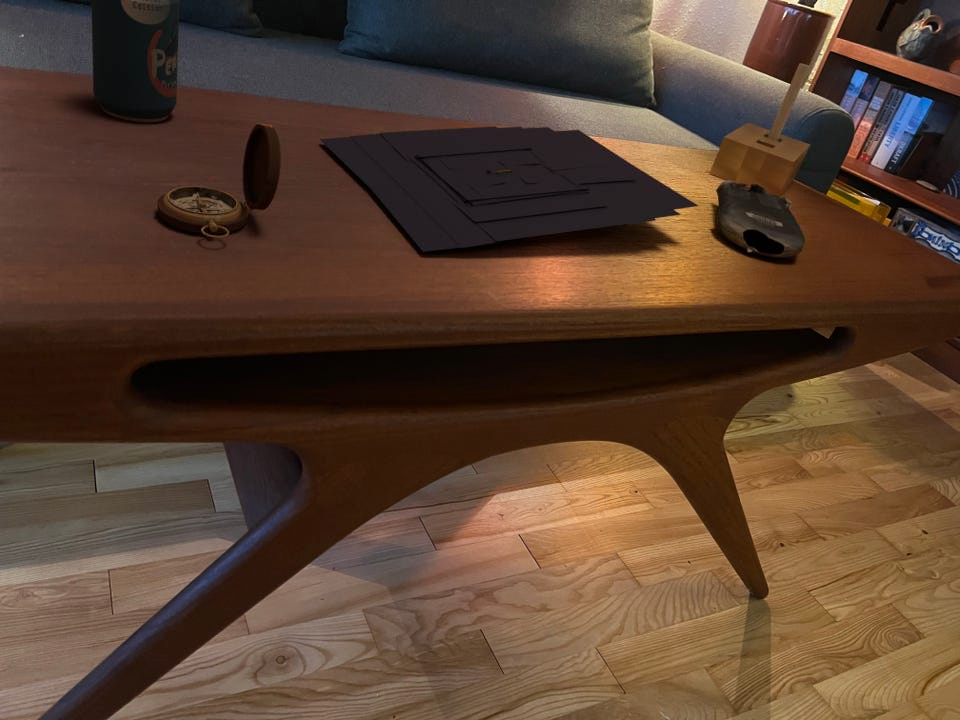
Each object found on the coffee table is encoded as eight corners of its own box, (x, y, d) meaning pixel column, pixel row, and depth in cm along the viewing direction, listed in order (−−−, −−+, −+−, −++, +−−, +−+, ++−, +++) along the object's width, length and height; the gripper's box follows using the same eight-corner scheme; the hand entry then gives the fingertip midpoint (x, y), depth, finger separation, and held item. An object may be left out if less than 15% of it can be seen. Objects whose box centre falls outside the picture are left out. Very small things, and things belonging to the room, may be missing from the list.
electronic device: (698, 211, 92) (716, 239, 78) (722, 167, 90) (744, 188, 76) (770, 244, 92) (800, 278, 78) (795, 201, 90) (831, 227, 76)
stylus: (763, 173, 110) (810, 66, 102) (761, 175, 109) (809, 66, 101) (754, 169, 110) (800, 62, 103) (752, 171, 109) (798, 63, 101)
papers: (704, 240, 75) (715, 205, 73) (421, 284, 61) (425, 242, 59) (564, 146, 91) (570, 116, 89) (317, 164, 78) (318, 129, 76)
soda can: (171, 129, 70) (175, -14, 64) (86, 116, 68) (82, -33, 62) (179, 107, 76) (184, -27, 70) (101, 94, 74) (98, -45, 67)
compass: (148, 199, 57) (150, 100, 54) (256, 202, 61) (265, 110, 58) (168, 249, 52) (171, 143, 48) (285, 249, 56) (297, 151, 52)
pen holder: (794, 178, 112) (810, 144, 109) (777, 199, 100) (794, 161, 97) (733, 156, 114) (747, 122, 112) (709, 173, 102) (724, 136, 100)
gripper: (799, -215, 89) (725, -15, 100) (1033, -165, 81) (925, 46, 92) (808, -201, 95) (737, -14, 106) (1027, -153, 87) (926, 43, 98)
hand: (825, 14), depth 99 cm, fingers open, 13 cm apart
